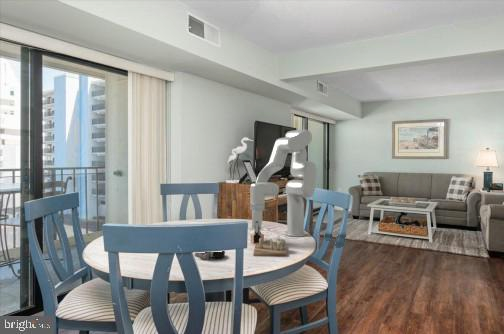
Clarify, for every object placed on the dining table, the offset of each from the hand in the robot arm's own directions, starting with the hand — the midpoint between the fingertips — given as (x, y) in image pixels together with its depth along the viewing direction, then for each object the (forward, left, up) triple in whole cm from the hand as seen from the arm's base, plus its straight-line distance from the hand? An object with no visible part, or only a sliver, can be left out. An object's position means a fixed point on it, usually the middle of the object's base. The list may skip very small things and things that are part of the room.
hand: (257, 240), depth 180 cm
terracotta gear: (0, 0, -1) cm, 1 cm away
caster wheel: (+28, -19, -1) cm, 34 cm away
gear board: (+16, +7, -1) cm, 17 cm away
